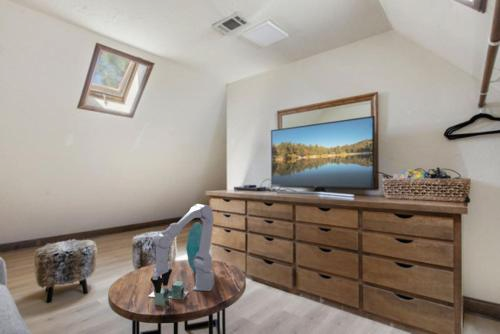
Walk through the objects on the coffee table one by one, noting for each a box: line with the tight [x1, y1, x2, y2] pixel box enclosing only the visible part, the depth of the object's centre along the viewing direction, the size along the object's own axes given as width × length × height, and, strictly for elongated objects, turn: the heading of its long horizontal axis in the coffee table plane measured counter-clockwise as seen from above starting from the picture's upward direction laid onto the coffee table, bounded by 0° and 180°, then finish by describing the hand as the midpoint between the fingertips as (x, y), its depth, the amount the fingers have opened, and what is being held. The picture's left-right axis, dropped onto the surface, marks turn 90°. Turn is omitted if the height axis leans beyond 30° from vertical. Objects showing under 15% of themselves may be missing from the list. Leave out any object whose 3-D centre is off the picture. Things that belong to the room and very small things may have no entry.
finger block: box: [154, 287, 170, 306], centre depth 122 cm, size 4×5×6 cm
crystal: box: [185, 222, 203, 273], centre depth 160 cm, size 12×14×30 cm
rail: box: [147, 280, 190, 300], centre depth 130 cm, size 18×7×6 cm, turn 84°
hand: (161, 289), depth 122 cm, fingers open, 7 cm apart
